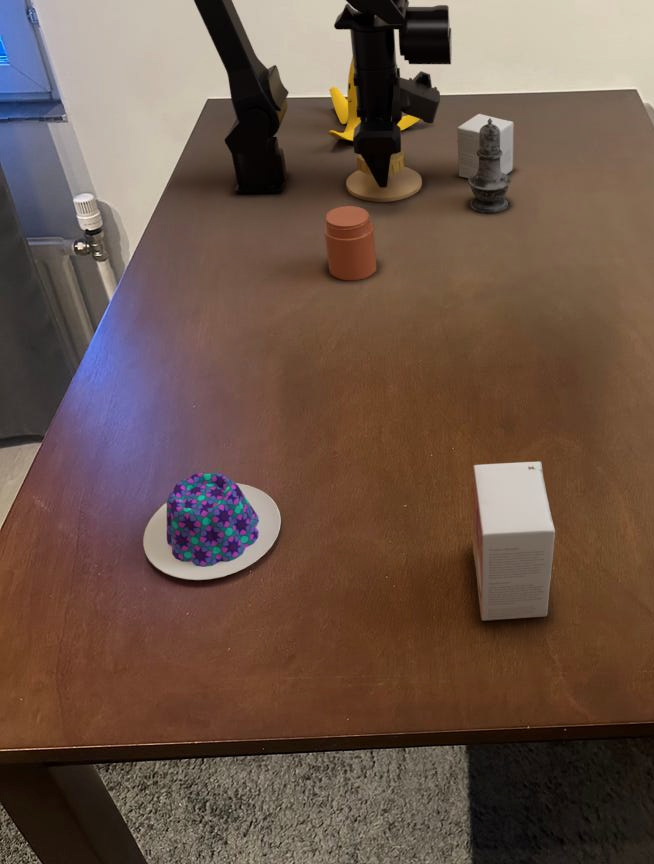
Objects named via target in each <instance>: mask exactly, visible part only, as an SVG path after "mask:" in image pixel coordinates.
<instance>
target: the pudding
mask: <svg viewBox="0 0 654 864" xmlns="http://www.w3.org/2000/svg"><path fill="white" fill-rule="evenodd" d="M280 512H281V511H280V509H279V507H278V505H277V503H276V502H275V501H274V500H273V498H272V497H271V496H269V495H268V494H267V493H266V492H265V491H263V490H261V489H258V488H257V487H254V486H252V485H248V484H243V483H238V482H235V481H234V480H232V479H229V478H228V476H227V475H225V474H223V473H220V472H211V473H206V472H198V473H194V474H192V475H191V476H190V477H188V478H185V479H181V480H180V481H179V482H177V483H176V484H175V485H174V487H173V491H172V492H171V493H169V495H168V498H167V500H166V502H165V503H163V505H161V507H159V509H157V510H156V511H155V512H154V514H153V515H152V516H151V518H150V519H149V521H148V523H147V525H146V527H145V530H144V534H143V537H142V538H143V543H142V545H143V549H144V553H145V556H146V557H147V559H148V561H149V562H150V563H151V564H152V565H153V566H154V567H155V568H156V569H157V570H159V571H161V572H162V573H164V574H166V575H169V576H171V577H174V578H178V579H182V580H194V581H202V580H212V579H219V578H224V577H226V576H228V575H232V574H235V573H238V572H239V571H241V570H244V569H246V568H247V567H249V566H251V565H253V564H254V563H255V562H257V561H259V559H260V558H261V557H263V556H264V555H266V553H267V552H268V551H269V550H270V549H271V548H272V546H273V545H274V543H275V541H276V540H277V538H278V536H279V533H280V530H281V522H282V518H281V513H280Z"/></svg>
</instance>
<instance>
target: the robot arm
mask: <svg viewBox="0 0 654 864" xmlns="http://www.w3.org/2000/svg"><path fill="white" fill-rule="evenodd" d="M345 1H346V2H347V3H345V5H344V8H343V10H342V11H341V12H340V13H339V14H338V16H337V17H336V19H335V22H334V24H333V27H334V29H335V30H338V31H339V30H345V31H346V30H349V33H350V42H351V43H350V44H351V52H352V53H351V54H352V57H353V65H354V76H353V81H354V86H356V97H357V108H356V112H357V117H360V120H361V122H360V123H359V124H358V125H357V126H356V127H355V129H354V135H353V141H352V143H353V154H356V155H357V154H361V156H362V158H363V159H364V161H365V162H366V164H367V166H368V168H369V169H370V171H371V173H372V175H373V177H374V178H375V180H376V182H377V184H378V186H379V187H380V188H385V187H387V182H388V174H389V166H390V158H391V155H392V154H397V153H399V152H401V149H402V130H401V129H400V127H399V126H398V125H397V124H398V123H399V122H400V120H401V119H402V117H403V113H404V114H405V115H406V116H407V115H410V116H413V117H416V118H419V119H420V120H421V121H423V122H424V123H426V124H434V121H435V118H436V116H437V112H438V110H439V107H440V103H441V92H440V90H438V87H437V86H434V87H433V84H432V83H433V82H432V77H431V74H430V73H427V72H425V71H422V70H421V71H419V72H418V73H417V74H416V75H415V76H414V77H413V78H412V77H409V79H407V78H404V77H401V69H400V67H398V64H397V52H396V51H397V50H396V36H395V31H396V30H397V31H398V47H399V56H401V57H403V60H404V61H407V62H408V65H452V51H453V50H452V27H450V26H451V25H450V9H449V8H450V6H448V4H438V5H434V6H410V1H409V0H345ZM193 2H194V5H195V7H196V9H197V10H198V13H199V15H200V17H201V19H202V21H203V24H204V26H205V28H206V30H207V32H208V34H209V36H210V39H211V41H212V43H213V45H214V47H215V50H216V52H217V54H218V56H219V58H220V60H221V63H222V65H223V67H224V70H225V71H226V74H227V78H228V79H227V80H228V86H229V94H230V100H231V103H232V107H233V111H234V114H235V119H234V121H233V123H232V124H231V126H230V128H229V130H228V132H227V135H226V136H225V138H224V143H225V145H226V146H227V148H228V150H229V152H230V153H231V158H232V163H233V168H234V169H233V170H234V174H235V177H236V186H235V193H236V194H279V193H281V192H282V190H283V186H284V184H285V183H286V181H287V177H288V171H287V165H286V158H285V153H284V149H283V148H282V147H279V140H278V136H276V134H277V133H278V132H279V130H280V127H281V125H282V123H283V119H284V118H285V115H286V112H287V110H288V99H287V98H288V96H289V93H290V92H289V90H288V89H287V88H286V87H285V86H284V84H283V81H282V79H281V76H280V71H279V69H278V66H277V65H276V64H274V65H272V66H270V67H266V65H265V64H264V63H263V62H262V61H261V60H260V59H259V58H258V56H257V54H256V52H255V50H254V48H253V46H252V43H251V41H250V39H249V36H248V34H247V32H246V30H245V27H244V25H243V22H242V20H241V17H240V16H239V13H238V11H237V9H236V7H235V4H234V2H233V0H193Z"/></svg>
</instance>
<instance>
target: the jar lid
mask: <svg viewBox="0 0 654 864" xmlns="http://www.w3.org/2000/svg"><path fill="white" fill-rule="evenodd" d="M405 163H406V161H405V153H404V150H403V149H402V148H401V152H399V153H397V154H392V155H391V158H390V166H389V174H388V175H390V174H394V173H397V172H399V171H401V170H402V169H403V167H405ZM356 164H357V165H356V166H357V168H358V170H360V171H361V172H363V173H365V174H369V175H372V173H371V171H370V169H369V168H368V166H367V164H366V162H365V161H364V159H363V158H362V156H361V154H356Z"/></svg>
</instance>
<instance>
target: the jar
mask: <svg viewBox="0 0 654 864" xmlns="http://www.w3.org/2000/svg"><path fill="white" fill-rule="evenodd" d="M370 217H371V215H370V214H369V212H368V211H367V210H366V209H365V208H363V207H359V206H354V205H346V206H339V207H336V208H335V207H334V208H333V209H331V210H329V211H328V212H327V213H326V214H325V222H324V223H325V226H324V229H323V232H324V241H325V248H326V256H327V264H328V269H329V270H328V271H329V273H330V274H331V276H332V277H334V278H336V279H339V280H342V281H360V280H364V279H366V278H368V277H370V276H372V275H373V274H374V273H376V271H377V268H378V265H377V255H376V244H375V233H374V232H375V231H374V225H373V224H372V222H371V221H370Z"/></svg>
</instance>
